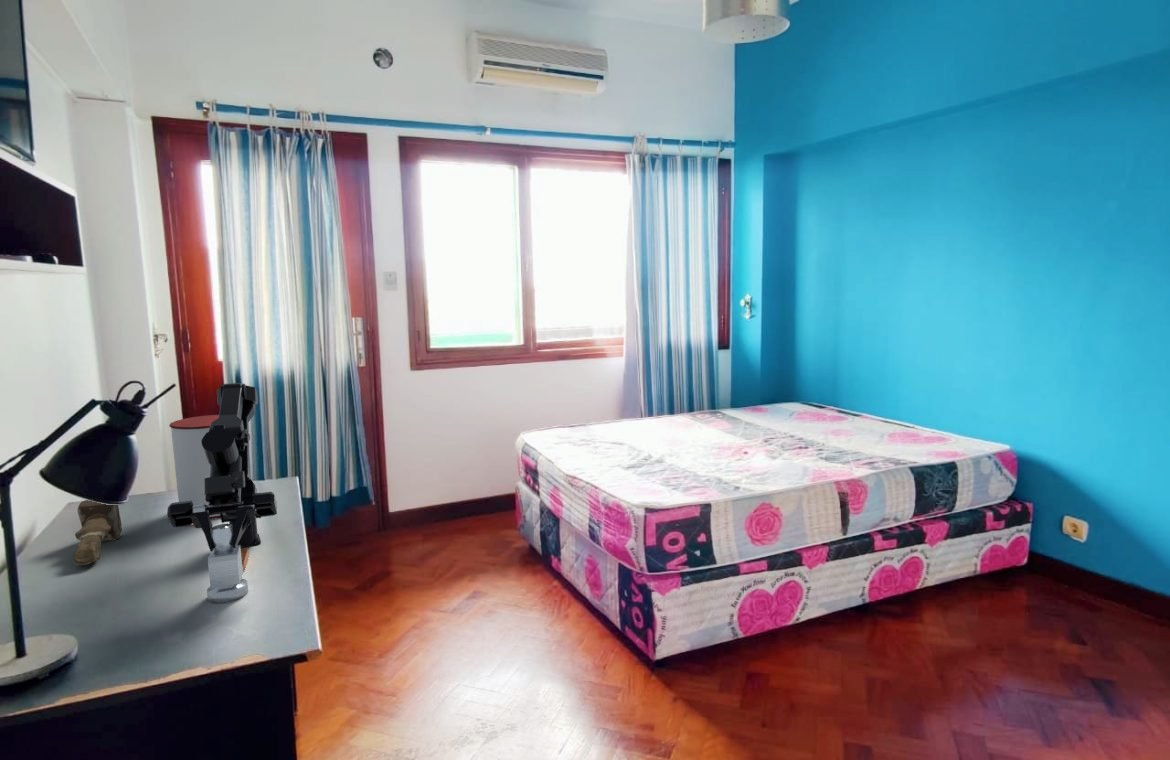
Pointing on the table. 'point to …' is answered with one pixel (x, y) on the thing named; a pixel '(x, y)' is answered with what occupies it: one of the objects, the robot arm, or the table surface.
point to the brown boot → (95, 529)
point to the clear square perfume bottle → (224, 558)
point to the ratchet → (230, 587)
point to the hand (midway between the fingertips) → (222, 548)
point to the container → (191, 458)
